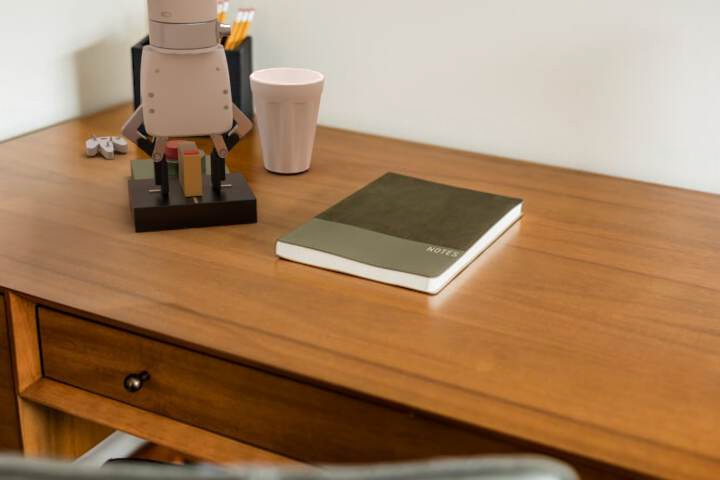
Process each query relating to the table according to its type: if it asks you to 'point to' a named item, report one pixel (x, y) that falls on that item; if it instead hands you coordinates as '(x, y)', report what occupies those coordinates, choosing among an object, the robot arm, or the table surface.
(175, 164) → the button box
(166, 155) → the button
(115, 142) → the game controller
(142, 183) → the panel
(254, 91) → the cup
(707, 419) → the table surface
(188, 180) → the tan block
